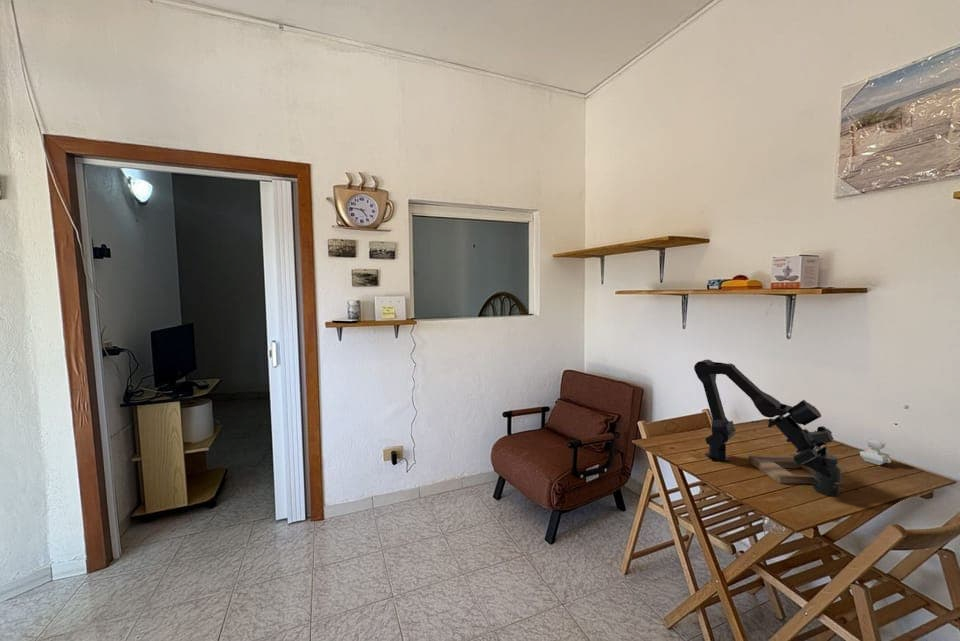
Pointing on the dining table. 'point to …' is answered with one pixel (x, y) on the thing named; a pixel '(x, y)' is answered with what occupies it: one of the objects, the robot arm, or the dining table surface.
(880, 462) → the stamp
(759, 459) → the tan flat square frame
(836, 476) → the supplement bottle
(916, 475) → the dining table surface
